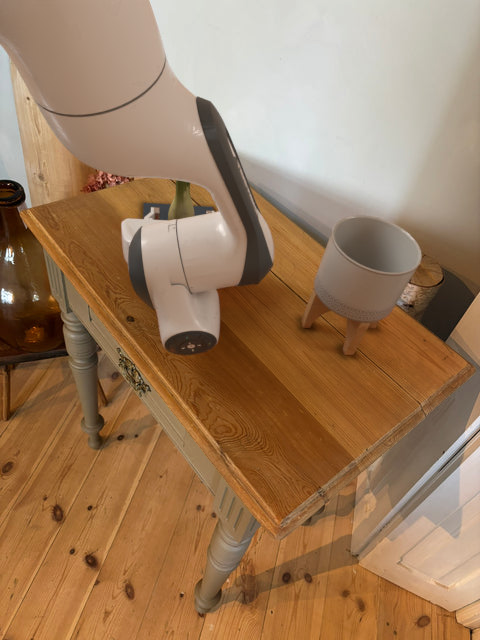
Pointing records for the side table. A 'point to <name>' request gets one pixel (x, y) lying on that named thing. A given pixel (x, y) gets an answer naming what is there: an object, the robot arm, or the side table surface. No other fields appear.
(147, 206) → the mat
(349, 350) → the planter
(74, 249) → the side table surface
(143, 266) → the robot arm
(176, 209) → the fennel bulb
